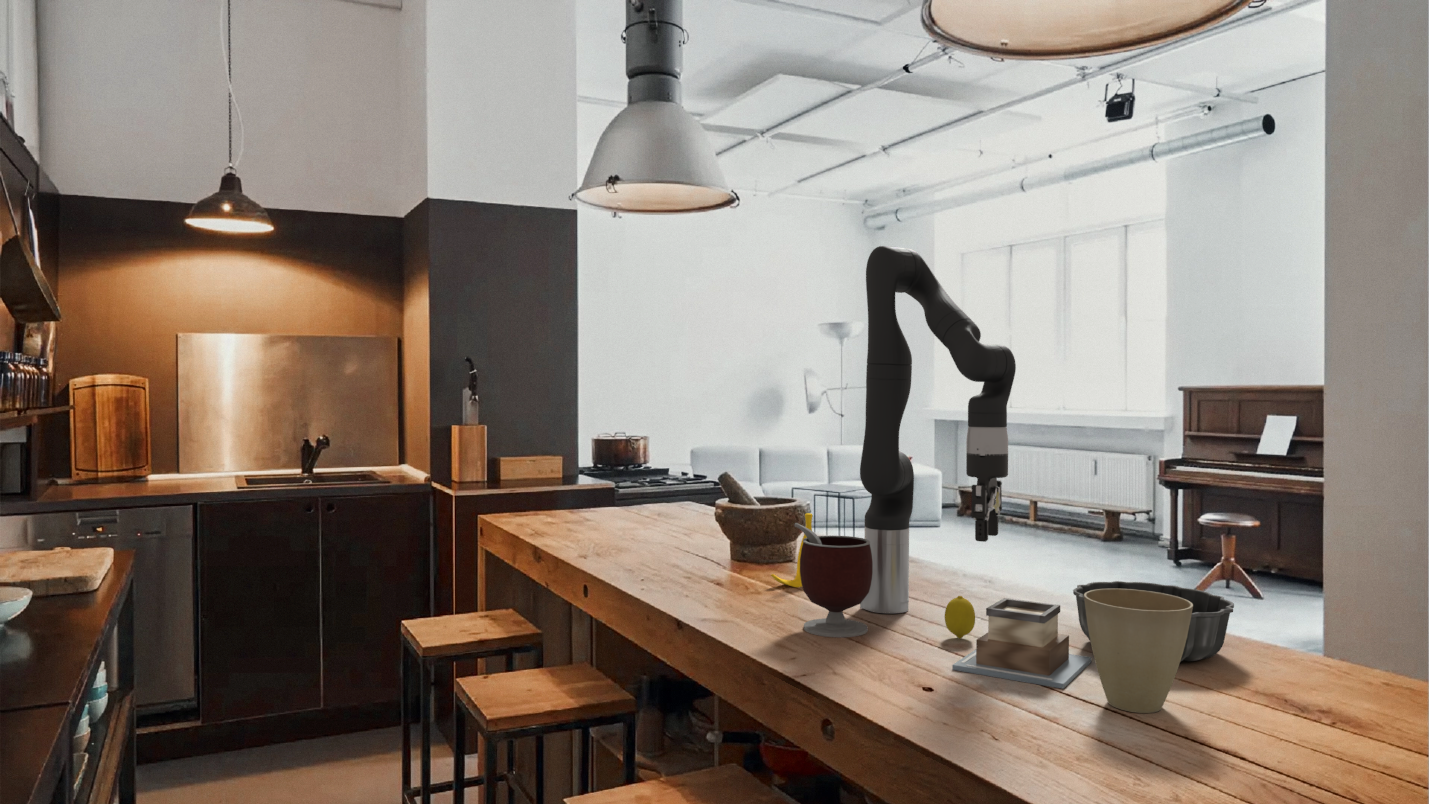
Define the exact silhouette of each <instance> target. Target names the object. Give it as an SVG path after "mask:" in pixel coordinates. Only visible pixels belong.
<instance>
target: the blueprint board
mask: <svg viewBox="0 0 1429 804" xmlns="http://www.w3.org/2000/svg"><path fill="white" fill-rule="evenodd" d="M1091 663H1092V657H1091V656H1086V655H1078V654H1073V653H1069V659H1068V660H1066V661H1065V662H1064V663H1063V664H1062V665H1061V666H1060V667H1059V668H1057V669H1056V670H1055V671H1054V672H1053V673H1052V674H1051V675H1050V676H1048V675H1042V674H1036V673H1030V672H1024V671H1018V670H1012V669H1006V668H1000V667H994V666H988V665H982V664H976V649H974V650H973V651H971V652H970V653H968V654H967V655H965V656H963V657H962V658H961V659H959V660H957V661H956V662H954V663H953V664H952V665H951V666H952V669H951V670H952V671H959V672H964V673H970V674H976V675H981V676H986V677H987V676H988V677H992V678H999V679H1005V680H1011V681H1017V682H1023V683H1028V684H1035V685H1039V686H1044V687H1052V688H1057V689H1062V690H1063V689H1065V688H1066V687H1067V686H1068V685H1069V684H1070V683H1071V682H1072V681H1073V680H1074V679H1075V678H1076V677H1077V676H1078V675H1079V674H1081V672H1083V670H1084V669H1086V668H1087V667H1088V666H1089V665H1090V664H1091Z"/></svg>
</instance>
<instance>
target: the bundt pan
mask: <svg viewBox="0 0 1429 804" xmlns="http://www.w3.org/2000/svg"><path fill="white" fill-rule="evenodd" d="M1096 589H1134V590H1144V591H1151V592H1158V593H1164V594H1168V595H1173V596H1177V597H1180V598H1183V599H1186V600H1188V601H1190V602H1191V603H1192V604H1193V609H1192V615H1191V620H1190V625H1189V630H1188V635H1187V639H1186V643H1185V647H1184V651H1183V654H1182V657H1181V661H1180V663H1181V662H1183V661H1185V662H1196V661H1200V660H1205V659H1209V658H1212V657H1214V656H1216V655H1217V654H1218V653H1219V652H1220V651H1221V649H1222V648H1223V645H1224V642H1225V638H1226V635H1227V629H1228V625H1229V619H1230V616H1231V613H1233V612H1234V607H1235V603H1233V601H1230V600H1228V599H1225V597H1224V596H1221V595H1217V594H1212V593H1210V592H1207V591H1204V590H1199V589H1195V588H1188V587H1182V586H1178V585H1172V584H1171V585H1168V584H1167V585H1166V584H1160V583H1154V582H1143V581H1121V580H1120V581H1119V580H1118V581H1117V580H1115V581H1095V582H1094V581H1093V582H1092V581H1091V582H1088V583H1086V584H1077V586H1076V587H1074V589H1073V590H1072V591H1073V592H1072V593H1073V596H1075V599H1076V605H1077V606H1076V607H1077V613H1078V622H1079V626H1080V628H1081V631H1082V632H1083V634H1084V635H1085V636H1086V638H1087V639H1088V640H1089V642H1090V643H1091V641H1090V636H1089V631H1088V625H1087V617H1086V609H1085V600H1084V594H1085V593H1086V592H1088V591H1091V590H1096Z"/></svg>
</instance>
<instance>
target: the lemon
mask: <svg viewBox="0 0 1429 804" xmlns="http://www.w3.org/2000/svg"><path fill="white" fill-rule="evenodd" d="M944 610H945V611H944V623H945V626H946V628H947V630H948V631H949V632H950V633H951V634H953V635H954V636H955V637H957V639H960V640H961V639H962V638H963V637H965V636H966V635H969V634H970V633H971V632H972V631H973V629H974V628H975V624H976V613H975V608H974V606H973V604H972V603H971V601H969V600H968V599H967V598H965V597H963V596H962V595H958V596H957V597H955V598H952V599H951V600H950V601H949V602H948V603H947V605H946V607H945V609H944Z"/></svg>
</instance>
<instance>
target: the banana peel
mask: <svg viewBox="0 0 1429 804" xmlns="http://www.w3.org/2000/svg"><path fill="white" fill-rule="evenodd" d="M804 518H805V519H804V520H805V527H806V528H808V529H810V530H811V531H813V527H812V524H813V523H812V522H813V521H812V520H813V513H811V512H810V513H809V512H807V513H805V514H804ZM805 538H807V537H806V535H805V534H804V533H803V536H802V540H801V543H800V545H799V550H798V554H797V555H798V556H797V562H796V563H797V564H796V573H795V577H794V579H784V578H780V577H778V575H776V574H774V573H772V574H770V576H771V578H773V579H774V581H776V582H778V583H779V584H782V585H786V586H788V587H789V586H790V587H792V588H803V587H802V583H801V576H800V557H801V550H802V546H803V539H805Z"/></svg>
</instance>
